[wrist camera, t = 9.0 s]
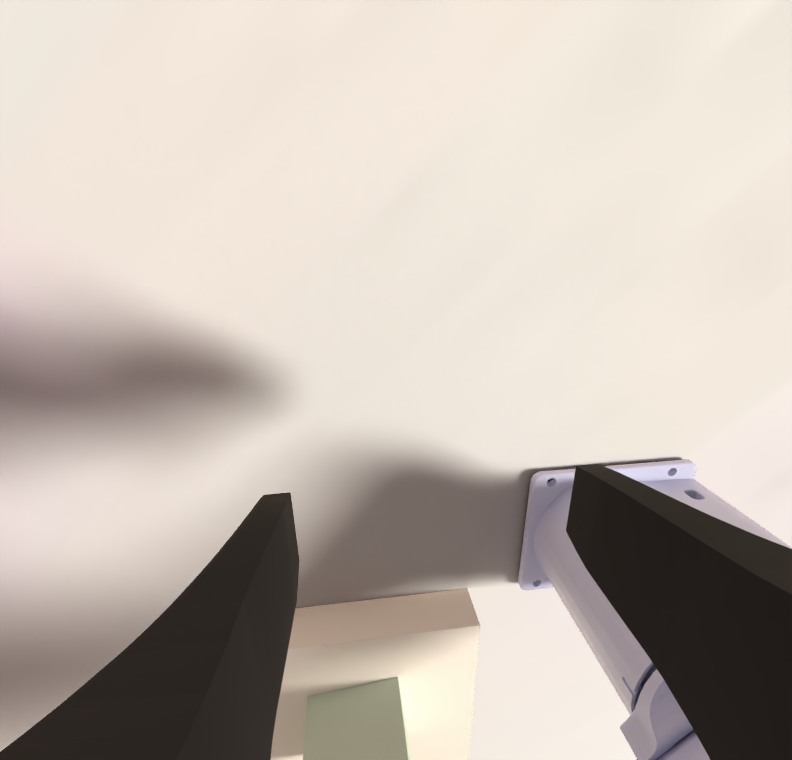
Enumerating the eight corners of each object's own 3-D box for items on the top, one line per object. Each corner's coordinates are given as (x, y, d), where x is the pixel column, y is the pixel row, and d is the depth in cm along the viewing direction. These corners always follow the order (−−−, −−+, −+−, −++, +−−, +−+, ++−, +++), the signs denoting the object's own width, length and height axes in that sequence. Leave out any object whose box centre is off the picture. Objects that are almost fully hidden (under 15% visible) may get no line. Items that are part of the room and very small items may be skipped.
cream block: (464, 580, 25) (480, 625, 22) (456, 709, 29) (468, 761, 26) (225, 607, 23) (209, 659, 20) (253, 740, 27) (243, 798, 24)
